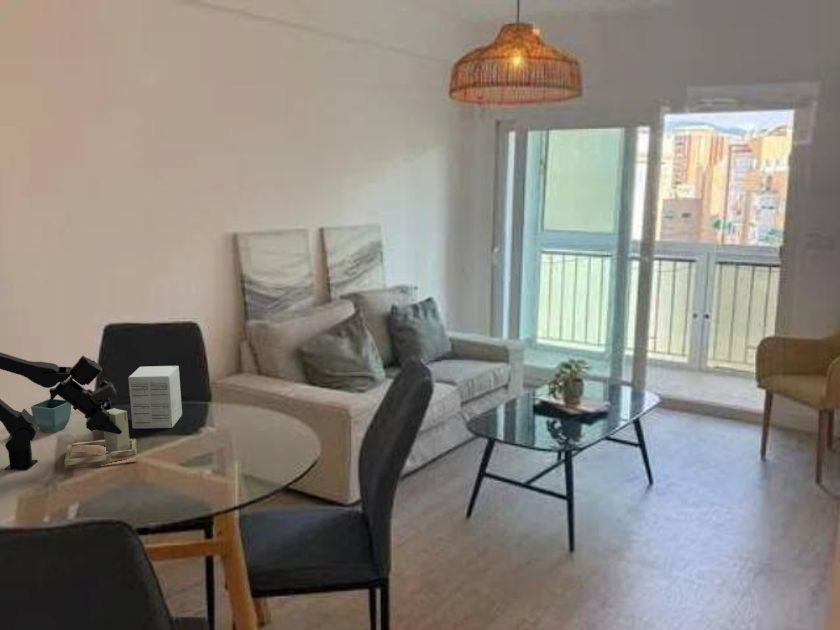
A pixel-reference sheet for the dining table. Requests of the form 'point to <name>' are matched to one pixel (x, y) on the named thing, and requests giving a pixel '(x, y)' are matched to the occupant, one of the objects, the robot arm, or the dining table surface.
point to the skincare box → (118, 440)
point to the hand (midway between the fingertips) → (121, 428)
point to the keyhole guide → (96, 456)
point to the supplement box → (155, 397)
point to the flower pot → (51, 414)
